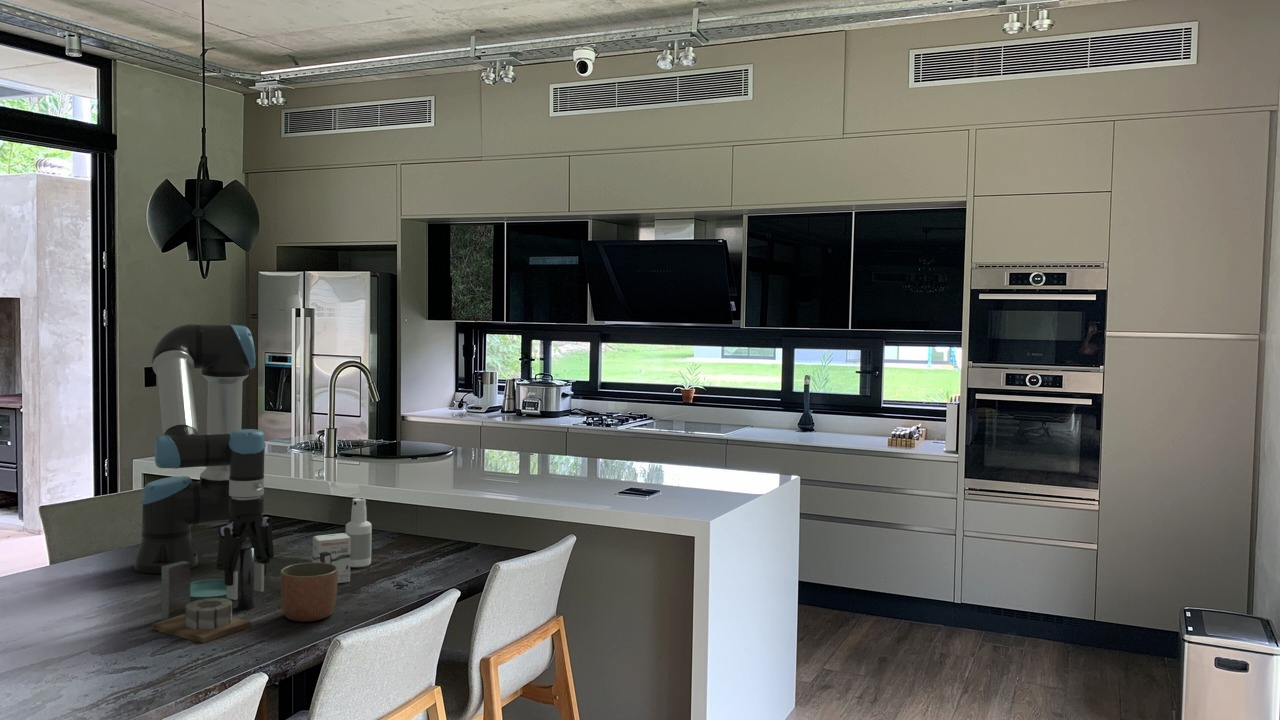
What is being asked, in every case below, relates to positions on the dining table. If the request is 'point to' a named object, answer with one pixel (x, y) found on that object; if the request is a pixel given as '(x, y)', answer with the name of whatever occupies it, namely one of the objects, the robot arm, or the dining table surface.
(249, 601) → the cylinder
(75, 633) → the dining table surface
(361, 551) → the spray bottle
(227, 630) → the socket board
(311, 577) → the planter
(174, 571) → the grey rectangular block
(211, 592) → the saucer
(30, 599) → the dining table surface
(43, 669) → the dining table surface
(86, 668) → the dining table surface
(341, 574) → the ink box
